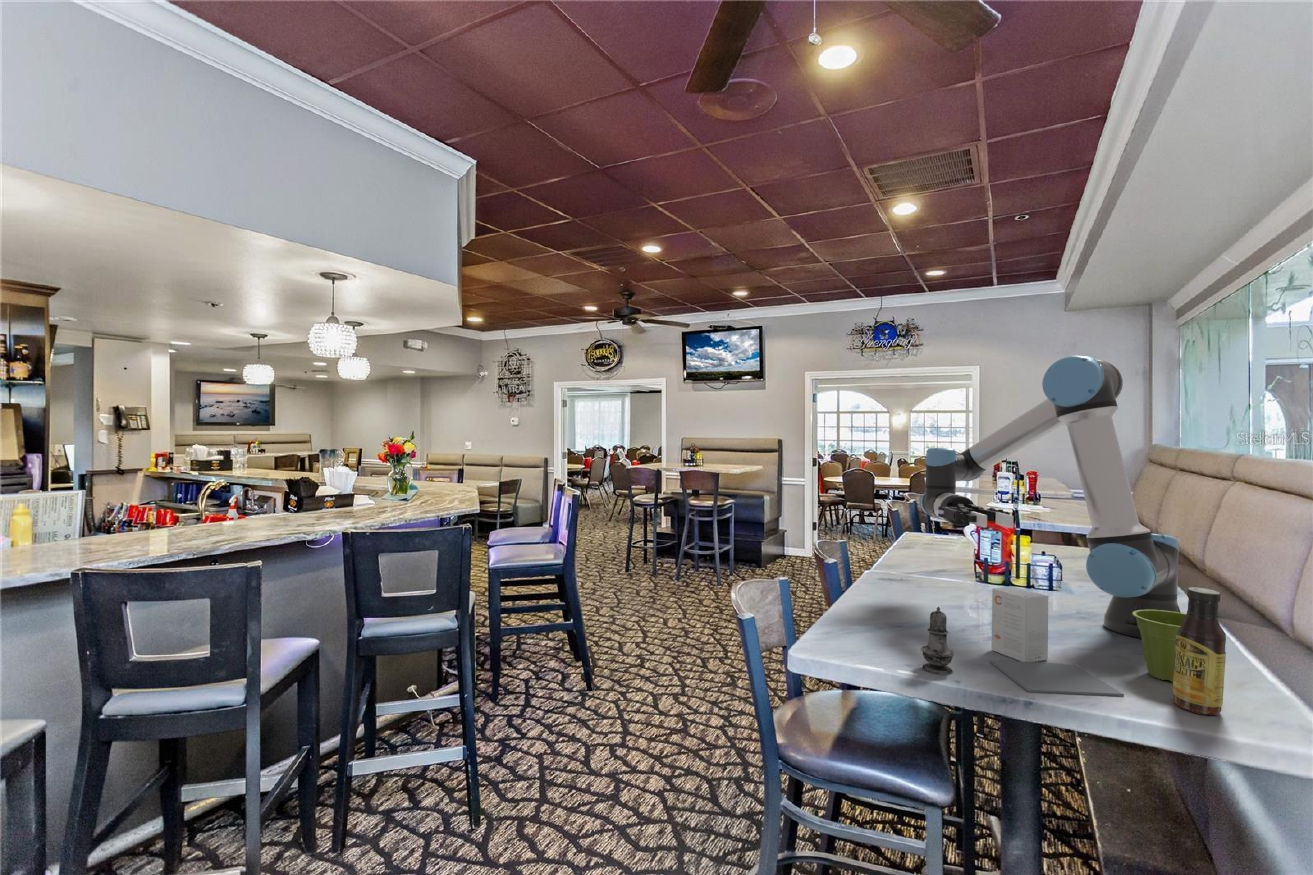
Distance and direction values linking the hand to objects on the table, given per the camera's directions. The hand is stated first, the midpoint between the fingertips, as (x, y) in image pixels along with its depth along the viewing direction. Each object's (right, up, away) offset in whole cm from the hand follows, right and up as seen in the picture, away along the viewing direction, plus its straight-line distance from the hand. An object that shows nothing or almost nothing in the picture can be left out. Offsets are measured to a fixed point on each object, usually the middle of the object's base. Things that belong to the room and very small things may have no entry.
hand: (998, 521), depth 135 cm
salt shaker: (-22, -26, -18) cm, 38 cm away
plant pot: (+21, -27, -20) cm, 40 cm away
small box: (-1, -26, -10) cm, 28 cm away
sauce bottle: (+14, -27, -34) cm, 45 cm away
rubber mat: (-2, -26, -22) cm, 34 cm away
